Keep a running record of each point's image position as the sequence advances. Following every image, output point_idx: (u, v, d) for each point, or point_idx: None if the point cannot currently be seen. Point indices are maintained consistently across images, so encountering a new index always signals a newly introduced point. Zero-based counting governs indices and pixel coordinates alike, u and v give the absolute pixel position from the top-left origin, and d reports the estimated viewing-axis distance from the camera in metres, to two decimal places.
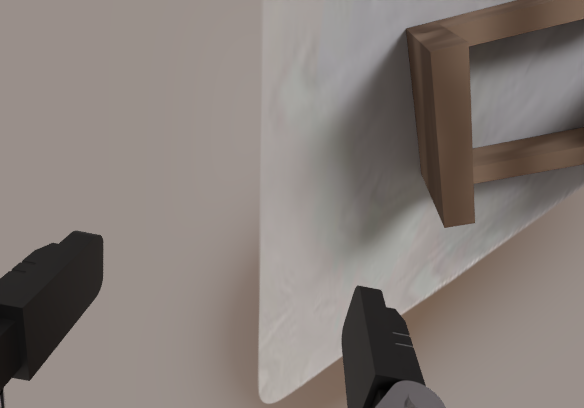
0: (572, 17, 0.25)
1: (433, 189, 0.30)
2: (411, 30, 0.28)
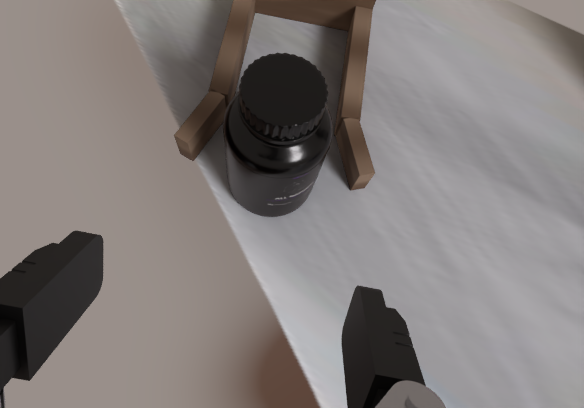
0: (349, 75, 0.33)
1: None
2: None
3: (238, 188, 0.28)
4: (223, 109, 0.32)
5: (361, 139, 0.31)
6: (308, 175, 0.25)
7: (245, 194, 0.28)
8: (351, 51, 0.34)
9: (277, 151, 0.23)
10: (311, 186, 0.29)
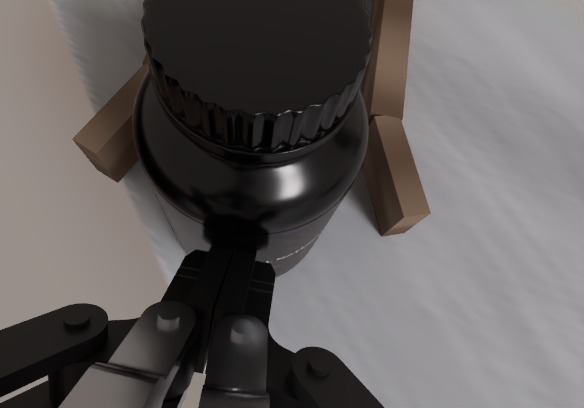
0: (384, 45, 0.20)
1: None
2: None
3: (180, 238, 0.15)
4: None
5: (405, 152, 0.18)
6: (315, 225, 0.12)
7: None
8: (386, 7, 0.21)
9: (245, 177, 0.10)
10: (318, 236, 0.16)
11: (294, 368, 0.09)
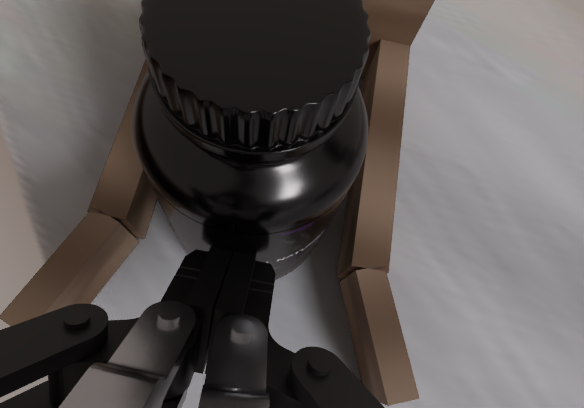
0: (369, 176, 0.17)
1: None
2: None
3: (181, 239, 0.15)
4: (124, 239, 0.17)
5: (391, 317, 0.15)
6: (314, 226, 0.12)
7: None
8: (372, 126, 0.18)
9: (243, 176, 0.10)
10: (319, 237, 0.15)
11: (294, 368, 0.09)
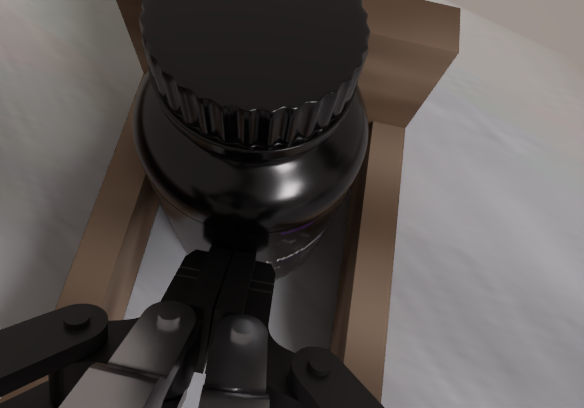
0: (359, 286, 0.16)
1: None
2: None
3: (181, 239, 0.15)
4: None
5: None
6: (314, 225, 0.12)
7: None
8: (363, 226, 0.17)
9: (243, 175, 0.10)
10: (319, 237, 0.15)
11: (294, 368, 0.09)
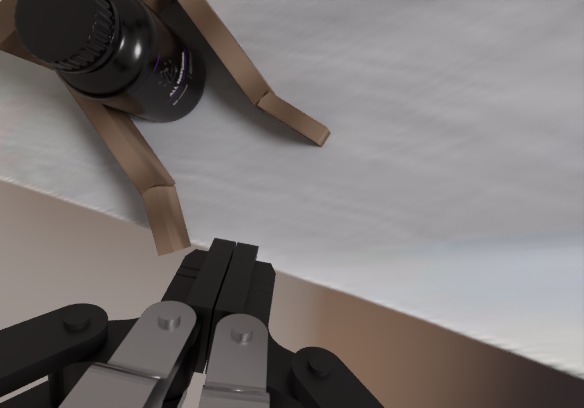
0: (223, 56, 0.28)
1: None
2: None
3: (143, 115, 0.28)
4: (166, 190, 0.31)
5: (288, 108, 0.27)
6: (163, 55, 0.24)
7: (152, 114, 0.28)
8: (201, 30, 0.28)
9: (114, 65, 0.22)
10: (188, 57, 0.28)
11: (294, 368, 0.09)
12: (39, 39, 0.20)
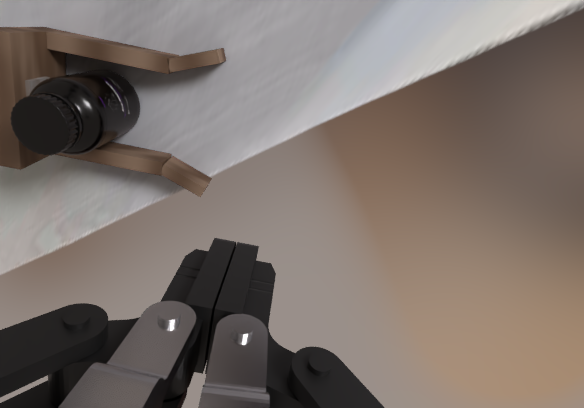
0: (126, 62, 0.38)
1: None
2: (39, 27, 0.39)
3: (120, 134, 0.40)
4: (171, 161, 0.44)
5: (187, 58, 0.38)
6: (101, 94, 0.35)
7: (124, 129, 0.40)
8: (100, 58, 0.38)
9: (86, 123, 0.34)
10: (110, 80, 0.38)
11: (294, 368, 0.09)
12: (46, 144, 0.32)
